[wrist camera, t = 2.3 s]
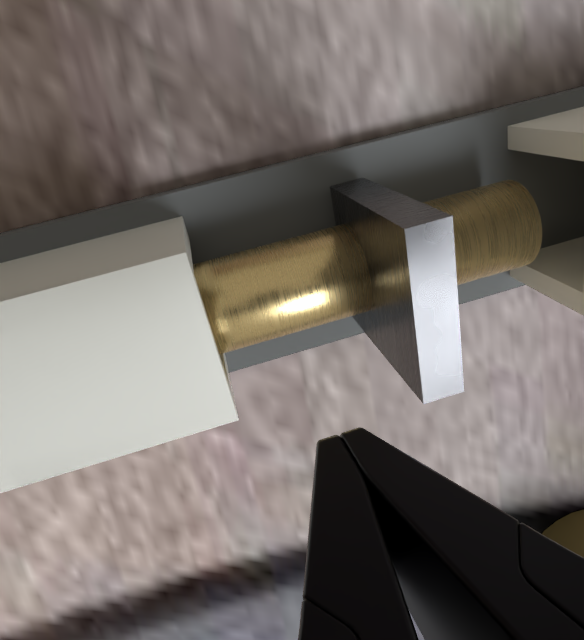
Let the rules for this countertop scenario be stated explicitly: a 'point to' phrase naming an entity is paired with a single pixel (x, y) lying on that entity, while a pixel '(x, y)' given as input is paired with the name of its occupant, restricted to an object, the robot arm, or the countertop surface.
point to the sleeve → (104, 353)
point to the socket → (567, 257)
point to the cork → (568, 532)
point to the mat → (317, 209)
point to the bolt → (378, 275)
